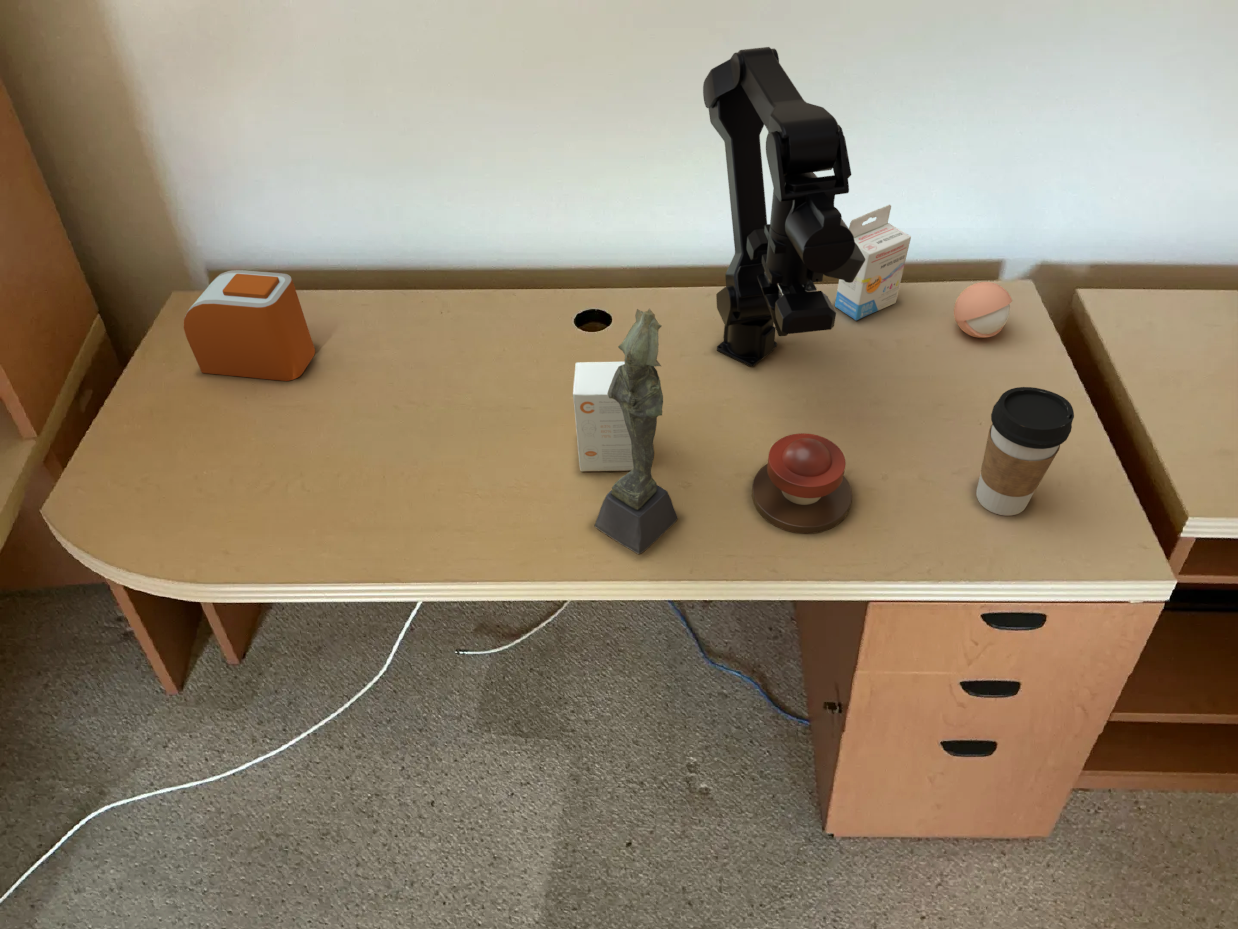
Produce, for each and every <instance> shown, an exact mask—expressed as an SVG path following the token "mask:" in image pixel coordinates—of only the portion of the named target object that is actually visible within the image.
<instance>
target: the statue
mask: <svg viewBox="0 0 1238 929" xmlns="http://www.w3.org/2000/svg"><path fill="white" fill-rule="evenodd" d="M634 317H635V322H634V323H633V325H632V326H631V327H630V329H629V331H628V333H627V334H626V336H625V338H624V339H623V341H622V342H621V343H620V344H619V345H618V346H617V348H618V349H620V351H621V352H622V353H623V354H624V361H625V364H624V365H621V366H619V367H618V368H617V370H616V372H615V374H614V377H613V379H612V382H611V384H610V387H609V390H608V393H607V394H608V396H609V398H612V399H614V400H616V401H617V402H618V403H619V404H620V407H621V409H622V412H623V416H624V420H625V424H626V427H627V430H628V433H629V436H630V439H631V445H632V459H633V469H632V470H629V472H627V473H625V475H623V476H621V477H620V478H619V479H618V480H616V482H615V483H614V484H613V485H612V487H611V490H610V491H609V492H608V493H607V494H606V495H605V497H604V499H603V501H602V503H601V506H600V509H599V512H598V515H597V518H596V520H595V523H594V527H595V528H596V529H597V530H599V531H600V532H602V534H605V535H606V536H608V537H609V538H611V539H612V540H614V541H616V542H618V543H619V544H620V545H622V546H623V547H625V548H627V549H628V550H631V551H632V552H634V553H635V554H637V555H641V554H642V553H644V552H645V551H646V550H647V549H649V548H650V547H651V546H652V544H654V543H655V542H656V541H657V540H658V539H660V537H661V536H663V535H664V533H665V532H667V531H668V530H669V529H670V528H671V527H672V526H673V525H674V524H675V523H676V521H677V520H678V518H679V517H678V515H677V511H676V509H675V507H674V504H673V501H672V499H671V497H670V494H669V491H668V490H666V489H664V487H662V486H660V485H658V484H657V481H656V479H654V478H653V476H652V466H653V462H654V458H655V449H654V439H655V435H656V431H657V423H658V417H660V416H663V405H664V393H663V390H662V385H661V378H660V376H659V373H658V370H657V368H656V367H662V364H661V363H660V362H659V361H658V355H659V330H660V328H662V325H661V324H660V323H659V322H658V319H656V314H655V313H654V312H653V311H652V310H651V309H650V308H648V309H647V310H646V311H643V310H641V309H638V308H637V309H636V311H635V316H634Z"/></svg>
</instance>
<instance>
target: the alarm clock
mask: <svg viewBox="0 0 1238 929" xmlns="http://www.w3.org/2000/svg"><path fill="white" fill-rule="evenodd" d="M183 331H184V334H185V337H186V340H187V342H188V344H189V347H190V349H191V351H192V353H193V356H194V359H195V361H196V363H197V365H198V367H199V369H200V372H201V373H202V374H210V375H211V374H212V375H220V376H232V377H240V378H250V379H251V378H252V379H261V380H273V381H282V382H289V381H293V380H295V379H297V378H299V377H301V376H302V374H303V373H305V370H306V368H307V367H308V366H309V364H310V362H311V361H312V359H313V358H314V356H315V354H316V349H315V348H316V347H315V345H314V343H313V340H312V335H311V333H310V329H309V328H308V324H307V321H306V318H305V315H304V311H303V308H302V305H301V302H300V299H299V296H298V293H297V289H296V286H295V283H294V280H293V278H292V276H290V275H289V274H287V273H281V272H269V271H259V270H258V271H257V270H245V269H233V270H228V271H225V272H221V273H220V274H219V275H217V276H216V277H215V278H214V279H213V280H212V281H211V282H210V284H209V285H208V286H207V287H206V288H205V290H204V291H203V292H202V293H201V294H200V296H199V297H198V298H197V299H196V300H195V302H194V303H193V304H192V305H191V306H190V307H189V309H188V310H187V311H186V313H185V316H184V318H183Z"/></svg>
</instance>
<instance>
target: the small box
mask: <svg viewBox="0 0 1238 929" xmlns="http://www.w3.org/2000/svg"><path fill="white" fill-rule="evenodd" d="M624 364H625V361H581V362H580V361H576V362H575V365H574V366H575V367H574V375H573V376H574V377H573V387H572V399H573V407H574V408H573V410H574V420H575V430H576V441H577V442H576V443H577V453H578V455H577V456H578V465H579V470H580V472H620V471H621V472H624V471H627V472H628V471H631V470H632V469H633V459H632V445H631V439H630V436H629V433H628V430H627V427H626V424H625V420H624V416H623V412H622V409H621V407H620V404H619V403H618V402H617V401H616V400H614V399H612V398H609V396H608V394H607V393H608V390H609V387H610V384H611V382H612V379H613V377H614V374H615V372H616V370H617V368H618V367H619V366H621V365H624Z"/></svg>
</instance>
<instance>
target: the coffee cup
mask: <svg viewBox="0 0 1238 929" xmlns="http://www.w3.org/2000/svg"><path fill="white" fill-rule="evenodd" d="M1074 418H1075V411H1074V408H1073V406H1072V404H1071V402H1070V401H1069V400H1068V399H1066V398H1065V396H1062V395H1060V394H1058V393H1055V392H1053V391H1051V390H1047V389H1044V388H1038V387H1034V386H1033V387H1032V386H1018V387H1014V388H1009V389H1008V390H1006V391H1005V392H1003V393H1002V394H1001V395H1000V397H999V398H998V400H997V401H996V402H995V404H994V405H993V407H992V411H991V413H990V421H991V424H990V427H989V430H988V434H987V439H986V443H985V450H984V454H983V459H982V464H981V468H980V474H979V478H978V483H977V487H976V491H975V495H976V499H977V501H978V503H979V504H980V505H981V506H982V507H983V508H984V509H985V510H987V511H988V512H991V513H992V514H995V515H999V516H1006V517H1009V516H1015V515H1018V514H1021V513H1022V512H1023V511H1025V509H1026V508H1027V506H1028V504H1029V503H1030V501H1031V499H1032V497H1033V495H1034V494H1035V492H1036V490H1037V489H1038V486H1039V485H1040V483H1041V481H1042V480H1043V478H1044V476H1045V475H1046V473H1047V472H1048V469H1049V468H1050V466H1051V465H1052V463H1053V462H1054V459H1055V458H1056V456H1057V455H1058V453H1059V451H1060V448H1061V445H1062V444H1064V442H1066V441H1067V440H1068V438H1069V436H1070V434H1071V433H1072V429H1073V425H1072V424H1073V421H1074Z"/></svg>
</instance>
